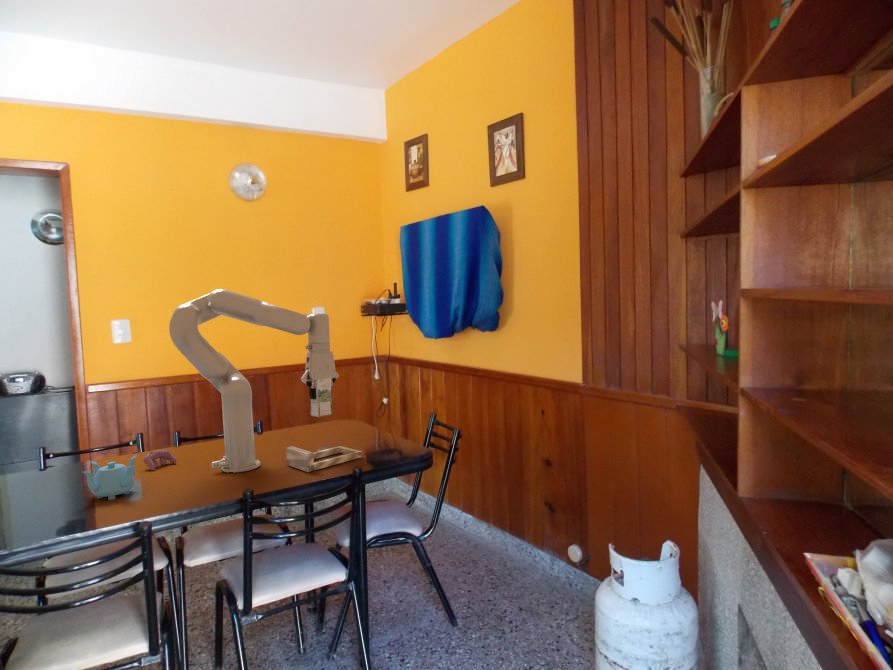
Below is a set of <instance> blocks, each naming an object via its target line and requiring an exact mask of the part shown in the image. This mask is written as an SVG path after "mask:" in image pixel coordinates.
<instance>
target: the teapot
mask: <svg viewBox="0 0 893 670" xmlns="http://www.w3.org/2000/svg"><path fill="white" fill-rule="evenodd" d="M137 457H138V455H137V454H136V455H134V456H132V457H131V458H130V460H129V464H128V467H127V466H126V465H125V464H123V463H117V462H116V461H110V462H106V465H105V466H101V467H100V466H99V464H98V462H96V461H95V460H91V461H90V462H91V464H92V466H93V473H92V472H90V471H82V473H83V474H85V475H86V479H87V480H86V481H87V482H86V483H87V487H88V488H89V489H90V492H91V493H92V494H93V495H95V496H96V499H103V498H104V497H108V498H107V500H108V501H113V500H115V499H117V498H116V496H118V495H130V494H131V491H130V490H131V489H132V488H133V487H134V486H135V483H136V482H135V478H134V477H135V475H136V467H135V465H136V464H135V460H136V458H137Z"/></svg>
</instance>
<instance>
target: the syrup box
mask: <svg viewBox="0 0 893 670" xmlns="http://www.w3.org/2000/svg"><path fill="white" fill-rule="evenodd" d="M315 382H316V383H315V387H314V388H316V399H310V398H309V409H310V412H309V413H310V416H312V417H317V418H322V417H328V416H332V415H333V407H332V406H333V404H332V402H333V401H332V397H331V378H327V379H320V380H315Z"/></svg>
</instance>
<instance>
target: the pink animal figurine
mask: <svg viewBox="0 0 893 670" xmlns="http://www.w3.org/2000/svg"><path fill="white" fill-rule="evenodd" d="M158 459H159V461H158ZM167 461H169V462H170V463H171V464H173V463H174V464H173V465H176V464H177V459H176V457H175V456H174V454H172V452H171V451H170V450H168V449H167V448H164V449H156V450H152V451H151V452H149V453H148V454H146V455H144V457H143V463H144V464H145V465H146V467H147V468H148V469H149V470H150V471H155V470H156V468H157V467H158V466H159V465H160V466H165V465H166V464H167ZM175 463H176V464H175Z"/></svg>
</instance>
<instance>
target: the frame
mask: <svg viewBox="0 0 893 670" xmlns="http://www.w3.org/2000/svg"><path fill="white" fill-rule="evenodd" d="M285 450H286V465H287V466H289V467H291V468H295V469H297V470H301V471H303V472H306V473H311V472H313V471H317V470H320V469H324V468H328V467H331V466H334V465H335V466H336V465H338V464H342V463H343V464H344V463H345V462H349V461H352V460H356V459H361V458H363V450H358V449H353V448H350V447H347V446H342V445H338V446H335V447H330V448H327V449H323V450H318V451H315V452H313V451H309V450H306V449H303V448H299V447H296V446H288V447H286V448H285ZM336 454H342V455H338V456H334V457H331V458H328V459H323V460H320V461H316V462H315V461H314V460H318V459H321V458H324V457H325V458H326V457H329V456H333V455H336Z"/></svg>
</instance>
